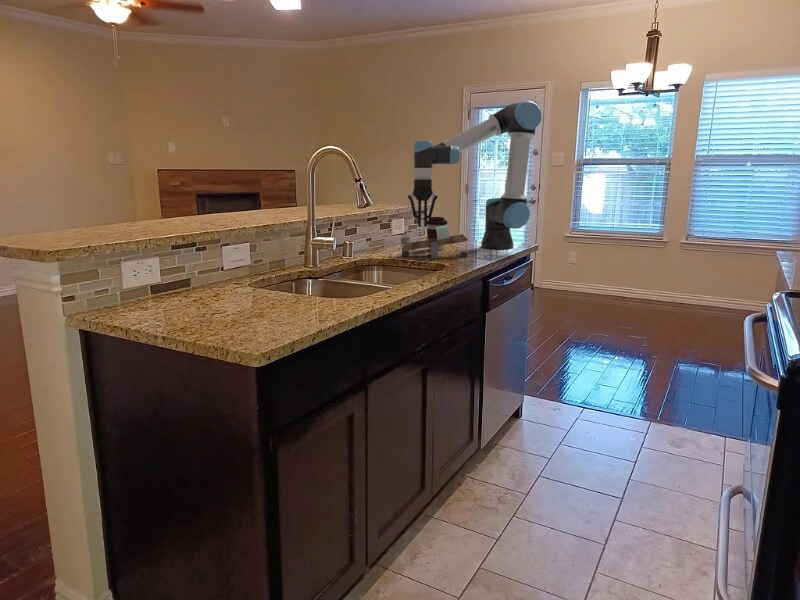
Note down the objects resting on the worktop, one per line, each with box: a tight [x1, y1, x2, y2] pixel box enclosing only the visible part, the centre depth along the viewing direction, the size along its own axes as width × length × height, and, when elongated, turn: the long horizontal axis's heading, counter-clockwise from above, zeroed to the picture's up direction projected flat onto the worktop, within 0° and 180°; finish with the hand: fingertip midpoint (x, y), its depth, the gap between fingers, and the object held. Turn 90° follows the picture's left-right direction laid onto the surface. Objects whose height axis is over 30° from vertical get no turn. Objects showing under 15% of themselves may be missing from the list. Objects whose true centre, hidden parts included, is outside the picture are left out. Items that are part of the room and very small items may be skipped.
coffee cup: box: [426, 216, 448, 251], centre depth 261 cm, size 10×10×15 cm
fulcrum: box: [401, 242, 468, 259], centre depth 242 cm, size 28×12×7 cm, turn 87°
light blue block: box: [436, 225, 450, 240], centre depth 241 cm, size 5×5×6 cm
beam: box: [400, 233, 468, 252], centre depth 241 cm, size 28×9×6 cm, turn 86°
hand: (422, 234), depth 241 cm, fingers closed
